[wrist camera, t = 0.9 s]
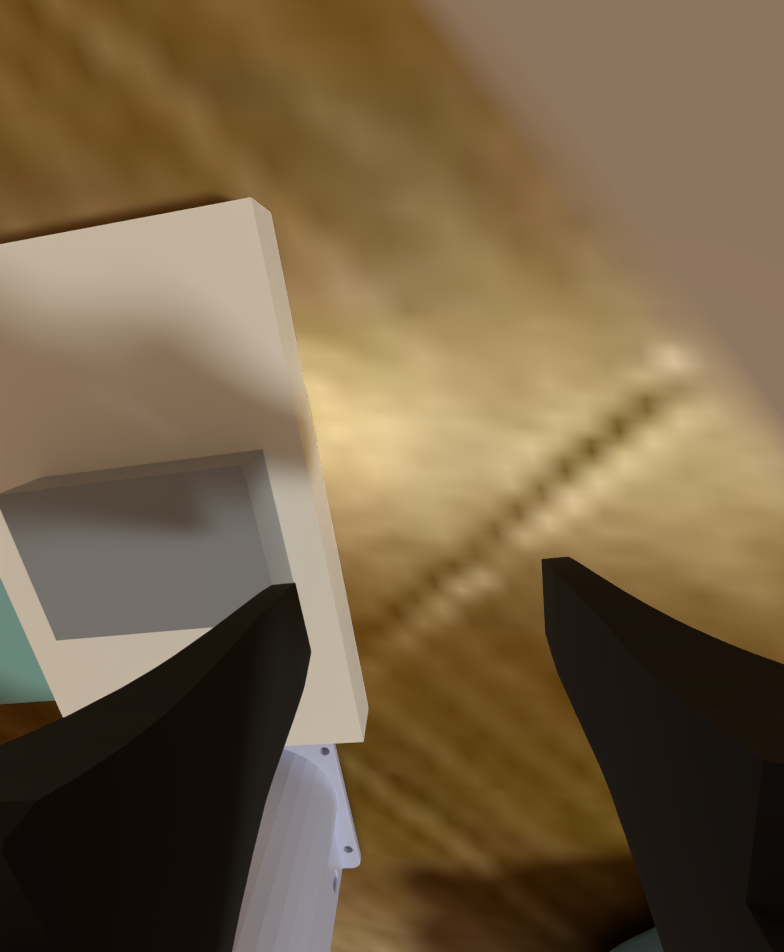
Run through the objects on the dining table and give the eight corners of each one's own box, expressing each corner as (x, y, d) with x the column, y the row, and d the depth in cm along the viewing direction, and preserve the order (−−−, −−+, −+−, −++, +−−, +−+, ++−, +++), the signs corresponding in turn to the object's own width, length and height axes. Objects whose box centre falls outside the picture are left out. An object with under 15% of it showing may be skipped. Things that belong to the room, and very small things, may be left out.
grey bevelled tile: (295, 591, 19) (281, 621, 17) (92, 610, 20) (56, 640, 18) (262, 449, 17) (242, 464, 15) (40, 477, 18) (-6, 495, 16)
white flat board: (368, 707, 23) (363, 741, 21) (108, 723, 24) (80, 757, 22) (271, 212, 16) (251, 197, 14) (-78, 276, 18) (-138, 270, 16)
